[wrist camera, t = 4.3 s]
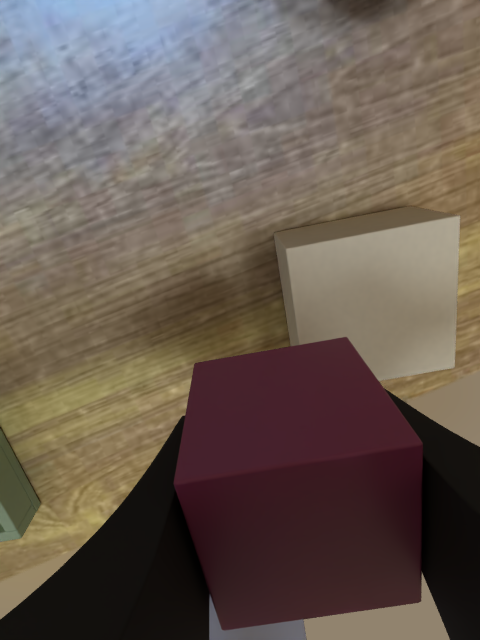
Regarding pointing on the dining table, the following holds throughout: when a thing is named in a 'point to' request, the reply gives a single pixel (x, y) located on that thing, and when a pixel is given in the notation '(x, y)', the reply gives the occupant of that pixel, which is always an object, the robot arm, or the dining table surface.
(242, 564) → the mulberry block
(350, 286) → the base block
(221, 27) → the dining table surface
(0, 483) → the tray
